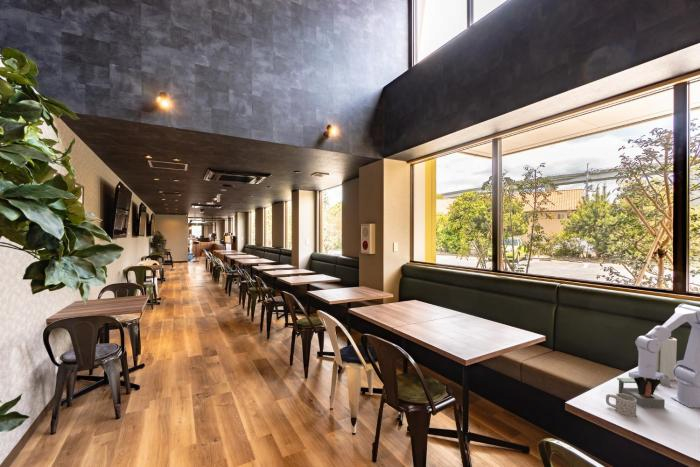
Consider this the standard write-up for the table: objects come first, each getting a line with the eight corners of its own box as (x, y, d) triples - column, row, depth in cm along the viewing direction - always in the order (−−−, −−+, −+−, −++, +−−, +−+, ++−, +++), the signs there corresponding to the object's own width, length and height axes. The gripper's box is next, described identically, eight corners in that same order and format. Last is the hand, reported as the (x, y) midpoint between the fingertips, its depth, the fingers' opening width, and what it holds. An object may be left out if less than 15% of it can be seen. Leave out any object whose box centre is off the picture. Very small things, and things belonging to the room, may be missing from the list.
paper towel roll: (677, 378, 166) (678, 338, 166) (673, 381, 163) (674, 340, 163) (658, 373, 173) (660, 334, 172) (654, 375, 170) (656, 336, 169)
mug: (636, 412, 134) (637, 397, 134) (635, 419, 130) (636, 403, 130) (606, 403, 142) (607, 388, 141) (604, 409, 137) (605, 393, 137)
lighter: (670, 385, 159) (670, 369, 159) (669, 386, 158) (670, 370, 157) (650, 380, 164) (651, 365, 164) (650, 381, 163) (650, 366, 163)
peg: (645, 395, 144) (646, 380, 144) (653, 399, 141) (653, 383, 140) (639, 395, 144) (639, 380, 143) (646, 399, 140) (646, 384, 140)
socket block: (639, 392, 151) (639, 378, 151) (665, 407, 139) (666, 391, 139) (616, 392, 151) (616, 377, 151) (640, 407, 139) (641, 391, 139)
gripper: (639, 367, 138) (638, 398, 138) (672, 367, 138) (671, 398, 138) (624, 360, 145) (624, 390, 145) (656, 361, 145) (655, 390, 145)
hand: (645, 393), depth 142 cm, fingers closed on peg, 3 cm apart
